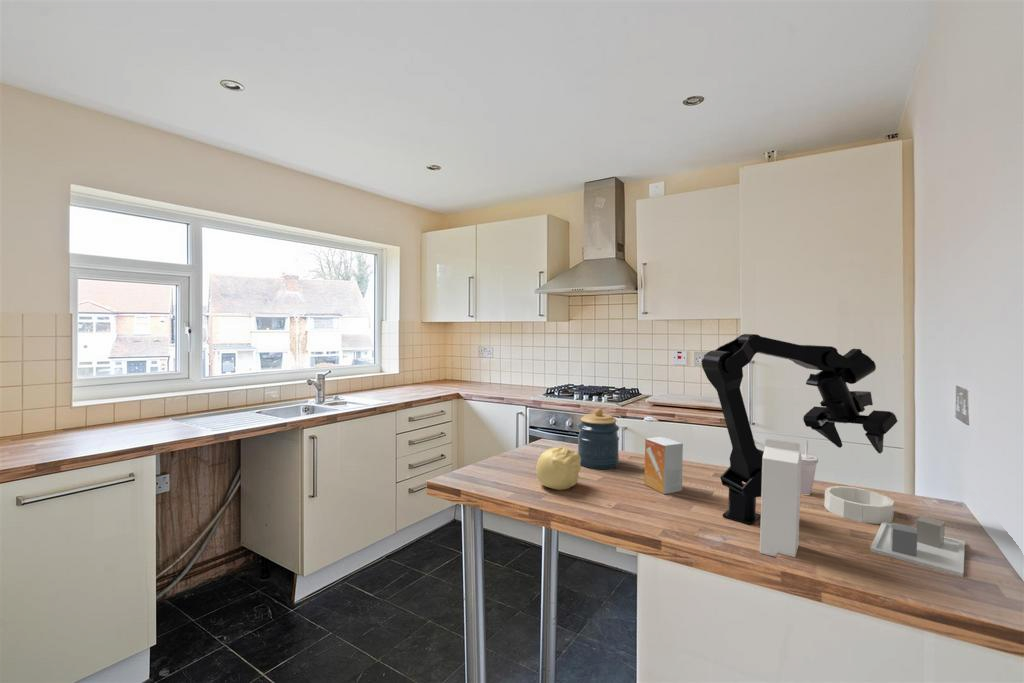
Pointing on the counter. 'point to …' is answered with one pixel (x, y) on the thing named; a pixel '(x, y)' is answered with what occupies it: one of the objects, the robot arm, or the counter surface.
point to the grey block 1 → (903, 539)
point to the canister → (598, 441)
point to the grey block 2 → (930, 531)
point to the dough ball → (558, 468)
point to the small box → (663, 464)
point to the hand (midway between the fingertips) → (860, 449)
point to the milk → (780, 498)
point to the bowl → (859, 504)
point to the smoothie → (807, 471)
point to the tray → (924, 552)
